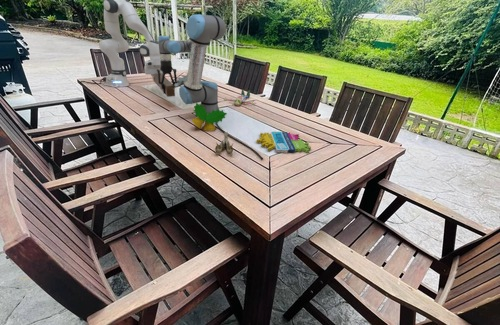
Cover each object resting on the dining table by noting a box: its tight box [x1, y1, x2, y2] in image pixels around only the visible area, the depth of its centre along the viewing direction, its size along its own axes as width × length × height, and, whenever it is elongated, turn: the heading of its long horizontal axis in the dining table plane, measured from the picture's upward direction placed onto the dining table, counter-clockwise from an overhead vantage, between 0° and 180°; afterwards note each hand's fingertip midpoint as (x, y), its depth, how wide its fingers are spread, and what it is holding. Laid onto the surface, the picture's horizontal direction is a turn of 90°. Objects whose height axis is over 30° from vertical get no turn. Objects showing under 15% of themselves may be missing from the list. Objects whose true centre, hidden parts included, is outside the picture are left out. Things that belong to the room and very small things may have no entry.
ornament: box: [191, 102, 228, 132], centre depth 162 cm, size 21×8×15 cm, turn 105°
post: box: [152, 74, 176, 98], centre depth 208 cm, size 53×6×8 cm, turn 28°
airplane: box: [172, 72, 188, 88], centre depth 263 cm, size 38×32×10 cm
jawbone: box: [214, 131, 234, 156], centre depth 136 cm, size 9×15×10 cm
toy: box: [223, 89, 257, 106], centre depth 219 cm, size 28×7×30 cm
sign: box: [256, 131, 312, 154], centre depth 152 cm, size 26×2×30 cm
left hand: (158, 79), depth 223 cm, fingers closed on post, 5 cm apart
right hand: (168, 93), depth 195 cm, fingers closed on post, 6 cm apart
